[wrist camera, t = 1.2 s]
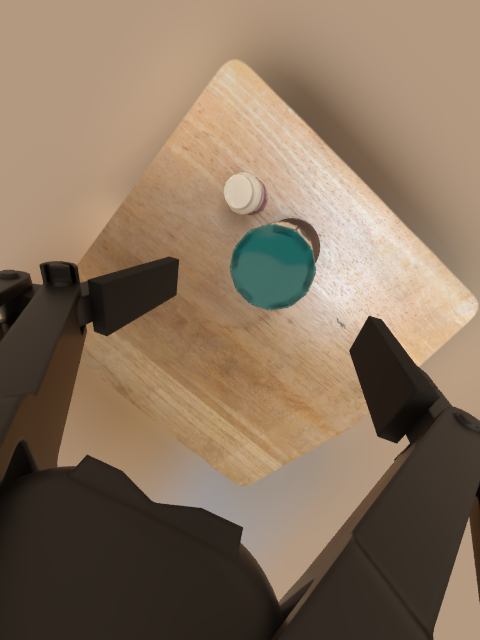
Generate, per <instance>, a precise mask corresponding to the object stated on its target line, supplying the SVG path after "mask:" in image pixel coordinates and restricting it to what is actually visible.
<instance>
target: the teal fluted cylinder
mask: <svg viewBox="0 0 480 640" xmlns="http://www.w3.org/2000/svg"><path fill="white" fill-rule="evenodd" d="M235 247H236V248H235V249H234V251H233V256H232V260H231V265H230V269H231V270H230V272H231V275H232V279H233V282H234V285H235V288H237V291H238V292H239V293H240V294H241V295H242V296H243V297H244V298H245V299H246V301H247V302H248V303H251V305H254V306H257V307H260V308H263V309H266V310H269V309H270V310H276V309H282V308H288V307H289V306H292V305H294V304H295V303H296V302H297V301H299V300H300V299H301V298H302V297H304V296H305V295H306V294H307V292H308V291H309V289H310V286H311V284H312V281H313V279H314V277H315V274H316V272H315V271H316V266H315V260H314V254H313V248H312V243H311V239H310V237H309V236H308V235H307V234H306V233H305V232H304V230H303V229H302V228H301V227H299V228H298V225H295V224H291V223H288V222H277V223H272V224H268V225H265V226H262V227H258V228H255V229H252V230H251V231H249V232H248V233H247V234H246V235H245V236H244V237H243V238H242V239H241V241H240V242H239V243H238V244H237V245H236V246H235Z"/></svg>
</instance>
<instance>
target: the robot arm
mask: <svg viewBox="0 0 480 640" xmlns="http://www.w3.org/2000/svg"><path fill="white" fill-rule="evenodd" d="M178 266H179V259H176V258H172V257H166V258H163V259H159V260H156V261H152V262H149V263H145V264H142V265H138V266H135V267H131V268H128V269H124V270H121V271H117V272H113V273H110V274H106V275H103V276H99V277H96V278H92V279H89V280H88V281H86V282H82V283H80V280H79V273H78V267H77V265H75V264H73V263H69V262H62V261H54V262H45V263H42V264H40V270H41V274H42V278H43V284H42V285H38V284H32V281H31V277H30V274H28V273H26V272H22V271H15V270H3V271H0V314H1V317H2V319H1V320H0V640H433V632H434V627H435V623H436V620H437V617H438V614H439V610H440V607H441V604H442V601H443V598H444V595H445V591H446V588H447V585H448V582H449V578H450V575H451V572H452V569H453V566H454V563H455V559H456V556H457V553H458V550H459V547H460V543H461V540H462V537H463V534H464V530H465V527H466V524H467V521H468V518H470V526H471V534H472V542H473V550H474V559H475V568H476V576H477V584H478V591H479V592H478V593H479V601H480V421H479V420H478V419H476V418H475V417H473V416H472V415H470V414H469V413H467V412H465V411H463V410H461V409H458V408H456V407H452V405H451V404H450V403H449V401H448V400H447V399H446V398H445V396H444V395H443V394H442V392H440V390H438V388H437V386H436V385H435V384H434V383H433V381H432V380H431V378H430V377H429V376H428V375H427V374H426V373H425V372H424V371H423V370H421V369H420V368H419V367H418V366H416V364H415V363H414V362H413V360H412V359H411V358H410V356H409V355H408V354H407V352H406V351H405V350H404V348H403V347H402V346H401V344H400V343H399V342H398V340H397V339H396V338H395V337H394V335H393V334H392V333H391V331H390V330H389V329H388V327H387V326H386V325H385V323H384V322H383V321H382V319H378V318H375V317H372V316H369V317H368V318H367V320H366V322H365V324H364V325H363V327H362V329H361V331H360V333H359V334H358V336H357V338H356V340H355V341H354V343H353V345H352V347H351V348H350V350H349V352H350V355H351V358H352V361H353V364H354V367H355V370H356V373H357V376H358V379H359V382H360V385H361V388H362V391H363V394H364V397H365V400H366V403H367V406H368V409H369V412H370V415H371V418H372V421H373V424H374V427H375V430H376V433H377V436H378V437H380V438H383V439H386V440H389V441H391V442H394V443H398V442H399V441H400V440H401V439H402V438H403V436H404V435H405V434H406V436H407V438H408V440H409V442H410V444H409V445H408V446H407V447H406V448H405V449H404V450H403V451H402V452H401V453H400V454H399V455H398V456H397V457H396V458H395V459H394V460H395V461H394V463H393V464H392V465H391V466H390V468H389V469H388V470H387V471H386V473H385V474H384V475H383V476H382V478H381V479H380V480H379V481H378V482H377V484H376V485H375V486H374V488H373V489H372V490H371V491H370V492H369V494H368V495H367V496H366V497H365V499H364V500H363V501H362V502H361V504H360V505H359V506H358V507H357V509H356V510H355V511H354V512H353V513H352V515H351V516H350V517H349V518H348V520H347V521H346V522H345V523H344V525H343V526H342V527H341V528H340V530H339V531H338V532H337V533H336V534H335V536H334V537H333V538H332V539H331V541H330V542H329V543H328V545H327V546H326V547H325V548H324V549H323V551H322V552H321V553H320V554H319V556H318V557H317V558H316V559H315V560H314V562H313V563H312V564H311V565H310V567H309V568H308V569H307V570H306V572H305V573H304V574H303V575H302V576H301V577H300V579H299V580H298V581H297V582H296V583H295V584H294V585H293V586H292V587H291V588H290V590H289V591H288V592H287V593H286V594H285V595H284V597H283V598H282V599H281V600H280V601H279V602H278V600H277V598H276V596H275V593H274V591H273V588H272V586H271V585H270V583H269V581H268V579H267V577H266V575H265V573H264V571H263V570H262V568H261V567H260V565H259V564H258V562H257V561H256V559H255V558H254V557H253V556H252V554H251V553H250V552H249V551H248V550H247V549H246V548H245V547H244V546H243V545H242V544H241V543H240V541H241V535H242V530H243V527H241V526H239V525H237V524H235V523H232V522H230V521H228V520H226V519H224V518H222V517H220V516H217V515H215V514H213V513H211V512H209V511H207V510H205V509H202V508H196V507H187V506H178V505H169V504H160V503H155V502H153V501H151V500H150V499H149V498H148V497H147V496H146V495H145V494H144V493H143V492H142V491H141V490H140V489H139V488H138V487H137V486H136V485H135V484H134V483H133V482H132V480H131V479H130V478H129V477H128V476H127V475H126V474H125V473H123V471H121V470H119V469H117V468H115V467H112V466H110V465H108V464H106V463H104V462H102V461H100V460H98V459H95V458H93V457H91V456H89V455H86V456H85V458H84V459H83V460H82V461H81V462H80V463H79V464H78V465H77V466H68V467H57V460H58V453H59V448H60V444H61V440H62V436H63V431H64V427H65V423H66V419H67V414H68V410H69V406H70V401H71V397H72V393H73V389H74V384H75V380H76V376H77V372H78V367H79V363H80V359H81V354H82V350H83V346H84V342H85V337H86V333H87V328H86V324H88V323H90V322H92V321H93V327H94V332H97V333H100V334H102V335H105V336H108V335H110V334H112V333H113V332H115V331H117V330H118V329H120V328H122V327H123V326H125V325H127V324H129V323H130V322H132V321H134V320H135V319H137V318H139V317H140V316H142V315H144V314H145V313H147V312H149V311H150V310H152V309H154V308H155V307H157V306H159V305H160V304H162V303H164V302H165V301H167V300H169V299H170V298H172V297H174V296H175V295H176V292H177V279H178Z"/></svg>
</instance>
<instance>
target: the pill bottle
mask: <svg viewBox="0 0 480 640" xmlns="http://www.w3.org/2000/svg"><path fill="white" fill-rule="evenodd" d="M224 198H225V200H226V202H227V204H228V206H229V207H230V208H231V210H233V211H234V212H235V213H238V214H241V215H253V214H257V213H259V212H260V211H261V210H262V209H263V208H264V207H265V205H266V203H267V198H268V193H267V189H266V187H265V185H264V184H263V183H262V182H261V181H260V180H259V179H258V178H256V177H255V176H254V175H252V174H251V173H248V172H239V173H236V174H235V175H233V176H231V177H230V178H229V179H228V180H227V181H226V183H225V186H224Z"/></svg>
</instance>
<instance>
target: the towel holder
mask: <svg viewBox="0 0 480 640" xmlns="http://www.w3.org/2000/svg"><path fill="white" fill-rule="evenodd" d="M279 222H288V223H291V224H295V225H298V228H299V227H301V228H302V229H303V230H304V232H305V233H306V234H307V235H308V236H309V237H310V239H311V243H312V248H313V254H314V260H315V263H316V261H317V259H318V256H319V252H320V241H319V238H318V235H317V233H316V231H315V230H314V228H313V227H312V226H311V225H310V224H308V223H307V222H305V221H303V220H300V219H294V218H291V219H285V220H282V221H279Z"/></svg>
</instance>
